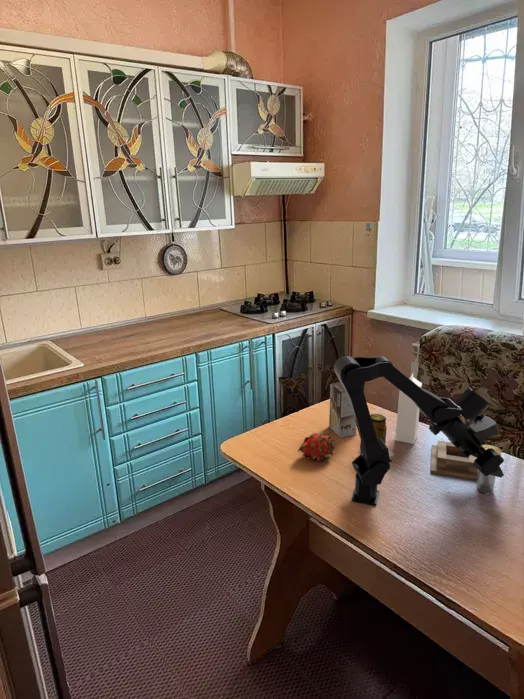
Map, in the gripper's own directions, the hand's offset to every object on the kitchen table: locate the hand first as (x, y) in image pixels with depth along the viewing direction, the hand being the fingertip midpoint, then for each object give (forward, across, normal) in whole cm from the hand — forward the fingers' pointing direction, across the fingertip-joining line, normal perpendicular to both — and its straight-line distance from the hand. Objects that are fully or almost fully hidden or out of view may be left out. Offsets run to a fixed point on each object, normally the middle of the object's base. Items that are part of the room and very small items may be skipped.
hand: (492, 466), depth 131 cm
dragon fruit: (-26, +22, +35) cm, 49 cm away
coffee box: (-17, +39, +26) cm, 50 cm away
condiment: (-12, +23, +22) cm, 34 cm away
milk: (-3, +31, +13) cm, 34 cm away
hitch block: (+3, +14, +7) cm, 16 cm away
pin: (+4, 0, +6) cm, 7 cm away
